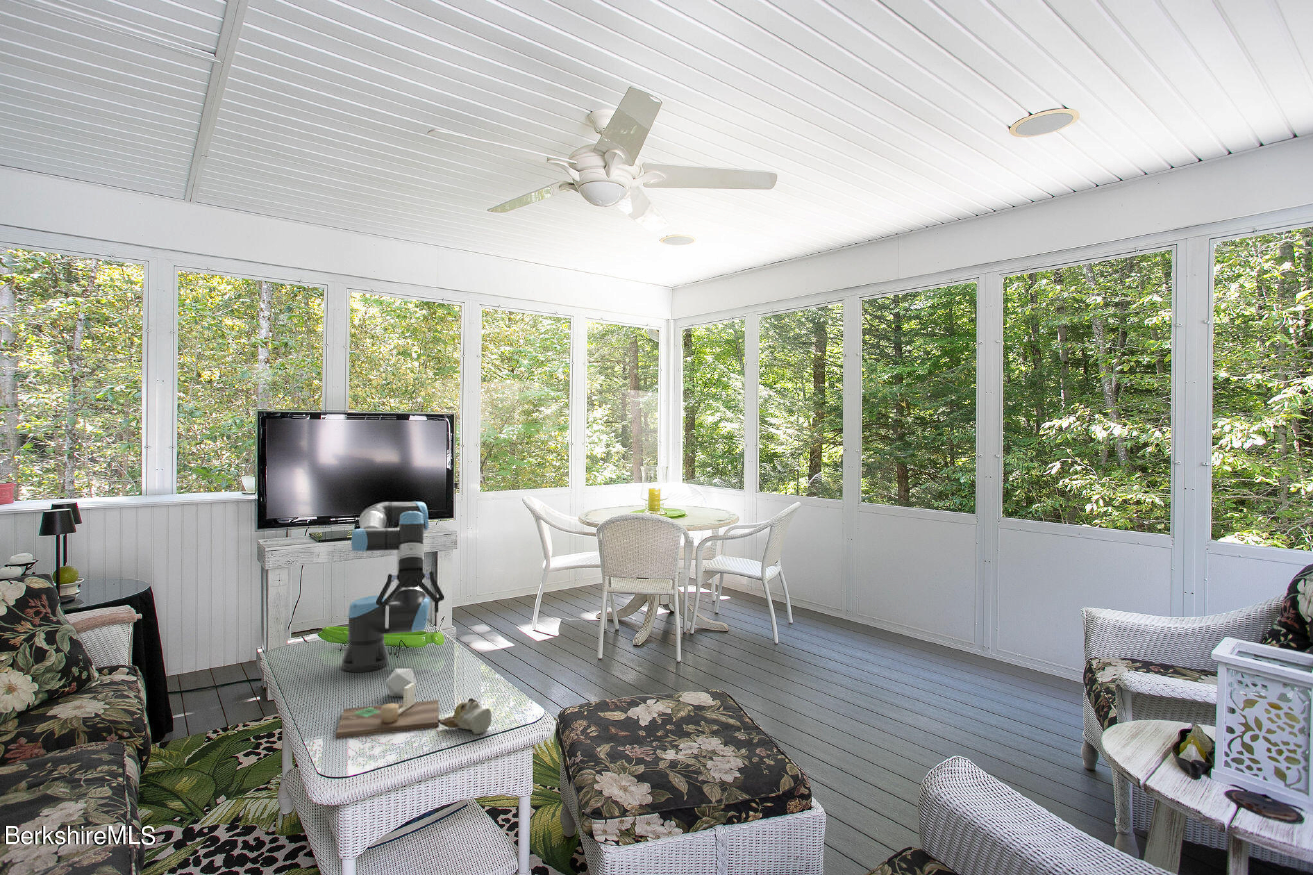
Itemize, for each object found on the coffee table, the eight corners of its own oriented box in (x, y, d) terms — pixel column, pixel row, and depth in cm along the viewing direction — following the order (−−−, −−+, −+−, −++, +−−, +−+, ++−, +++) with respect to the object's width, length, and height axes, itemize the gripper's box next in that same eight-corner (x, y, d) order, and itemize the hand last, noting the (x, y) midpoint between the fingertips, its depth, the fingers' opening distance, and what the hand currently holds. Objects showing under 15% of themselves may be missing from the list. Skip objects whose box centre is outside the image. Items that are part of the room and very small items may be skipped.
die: (397, 704, 200) (418, 676, 203) (375, 688, 202) (396, 660, 205) (406, 704, 208) (426, 676, 211) (385, 688, 210) (405, 661, 213)
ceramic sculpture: (474, 709, 176) (435, 699, 184) (474, 742, 176) (435, 731, 183) (502, 696, 185) (464, 688, 193) (503, 728, 185) (464, 718, 192)
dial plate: (343, 713, 191) (344, 708, 191) (438, 704, 200) (438, 699, 200) (336, 738, 176) (336, 732, 176) (438, 726, 184) (438, 721, 184)
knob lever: (406, 702, 196) (406, 682, 196) (419, 704, 195) (420, 683, 195) (377, 721, 182) (378, 700, 182) (392, 723, 181) (392, 701, 181)
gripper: (368, 558, 207) (365, 627, 198) (451, 553, 215) (452, 619, 206) (370, 564, 213) (367, 631, 205) (451, 559, 221) (452, 624, 213)
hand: (410, 625), depth 206 cm, fingers open, 13 cm apart
